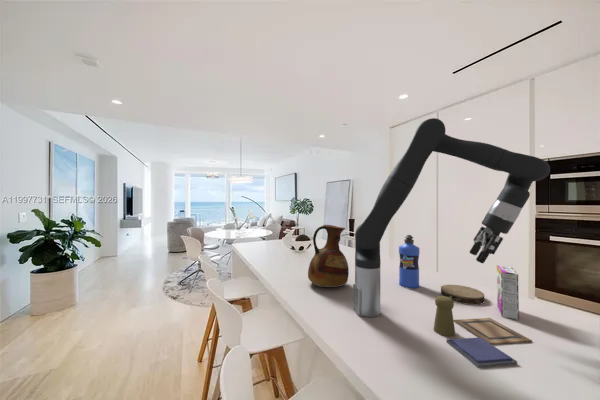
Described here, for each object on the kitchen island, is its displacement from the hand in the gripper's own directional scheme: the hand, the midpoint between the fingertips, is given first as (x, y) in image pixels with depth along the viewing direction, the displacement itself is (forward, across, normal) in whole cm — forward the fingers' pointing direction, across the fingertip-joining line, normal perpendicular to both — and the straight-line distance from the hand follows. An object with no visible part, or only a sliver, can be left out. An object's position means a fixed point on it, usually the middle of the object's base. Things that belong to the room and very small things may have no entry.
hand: (475, 257), depth 84 cm
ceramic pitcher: (+46, -13, -43) cm, 64 cm away
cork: (+24, +14, -2) cm, 28 cm away
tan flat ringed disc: (+23, -22, +11) cm, 33 cm away
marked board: (+18, +8, +11) cm, 23 cm away
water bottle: (+32, -28, -8) cm, 43 cm away
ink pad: (+20, +23, +4) cm, 30 cm away
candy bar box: (+16, -10, +21) cm, 29 cm away
